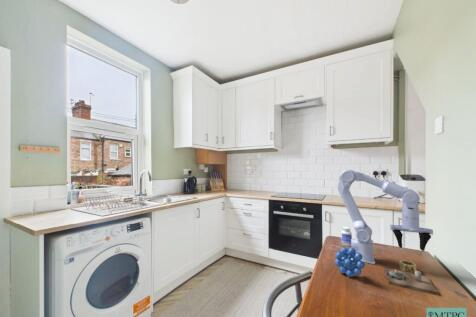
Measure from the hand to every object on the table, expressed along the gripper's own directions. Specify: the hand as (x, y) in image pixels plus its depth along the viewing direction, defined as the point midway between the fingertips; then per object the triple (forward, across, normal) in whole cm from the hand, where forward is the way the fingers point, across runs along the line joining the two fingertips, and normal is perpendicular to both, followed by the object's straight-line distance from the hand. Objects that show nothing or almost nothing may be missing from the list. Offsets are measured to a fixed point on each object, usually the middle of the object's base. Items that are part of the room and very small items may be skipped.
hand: (411, 248), depth 88 cm
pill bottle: (+10, -22, +23) cm, 34 cm away
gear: (+9, -1, 0) cm, 9 cm away
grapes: (+10, -26, -16) cm, 31 cm away
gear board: (+9, -5, -11) cm, 15 cm away
